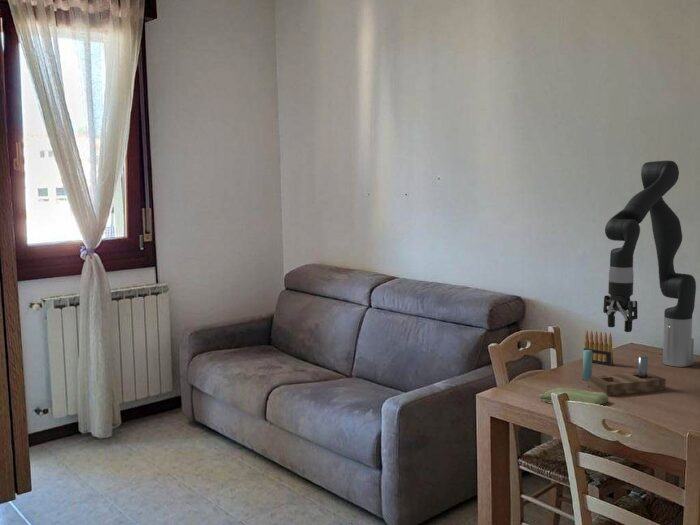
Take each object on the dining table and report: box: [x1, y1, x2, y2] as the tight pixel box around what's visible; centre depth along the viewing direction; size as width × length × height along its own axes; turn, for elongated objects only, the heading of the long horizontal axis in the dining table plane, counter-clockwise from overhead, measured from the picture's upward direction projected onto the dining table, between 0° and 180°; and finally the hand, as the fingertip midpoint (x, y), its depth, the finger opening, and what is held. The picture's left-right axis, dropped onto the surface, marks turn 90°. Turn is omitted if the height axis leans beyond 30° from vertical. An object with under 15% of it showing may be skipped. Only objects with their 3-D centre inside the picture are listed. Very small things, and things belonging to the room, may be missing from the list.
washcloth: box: [538, 387, 609, 405], centre depth 221 cm, size 13×18×3 cm
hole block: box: [587, 371, 667, 397], centre depth 234 cm, size 22×10×4 cm, turn 105°
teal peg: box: [582, 349, 593, 382], centre depth 244 cm, size 3×3×10 cm
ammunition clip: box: [583, 329, 614, 367], centre depth 265 cm, size 11×2×12 cm, turn 48°
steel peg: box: [637, 355, 649, 379], centre depth 235 cm, size 3×3×10 cm
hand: (619, 329), depth 237 cm, fingers open, 8 cm apart
